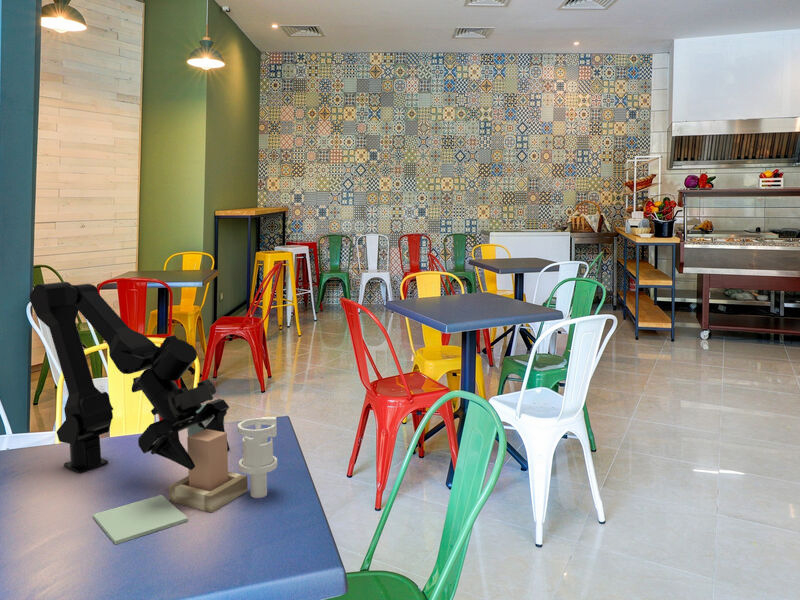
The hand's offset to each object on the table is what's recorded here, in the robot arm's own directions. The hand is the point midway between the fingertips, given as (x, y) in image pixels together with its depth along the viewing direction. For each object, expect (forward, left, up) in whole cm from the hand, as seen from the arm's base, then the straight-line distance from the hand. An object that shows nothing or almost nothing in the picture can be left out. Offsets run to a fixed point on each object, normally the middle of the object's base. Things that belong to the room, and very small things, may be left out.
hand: (211, 459), depth 117 cm
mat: (-3, -13, -7) cm, 15 cm away
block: (-1, 0, -7) cm, 7 cm away
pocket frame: (-1, 0, -7) cm, 7 cm away
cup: (-20, +14, -7) cm, 25 cm away
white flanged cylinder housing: (+6, +6, -7) cm, 11 cm away
